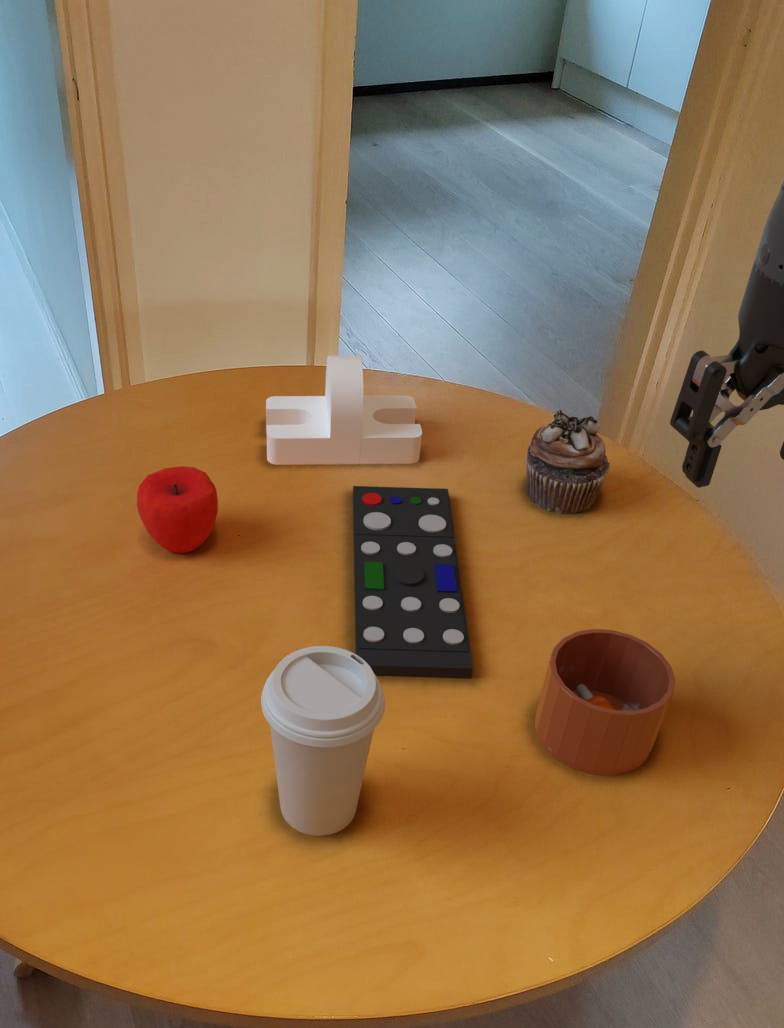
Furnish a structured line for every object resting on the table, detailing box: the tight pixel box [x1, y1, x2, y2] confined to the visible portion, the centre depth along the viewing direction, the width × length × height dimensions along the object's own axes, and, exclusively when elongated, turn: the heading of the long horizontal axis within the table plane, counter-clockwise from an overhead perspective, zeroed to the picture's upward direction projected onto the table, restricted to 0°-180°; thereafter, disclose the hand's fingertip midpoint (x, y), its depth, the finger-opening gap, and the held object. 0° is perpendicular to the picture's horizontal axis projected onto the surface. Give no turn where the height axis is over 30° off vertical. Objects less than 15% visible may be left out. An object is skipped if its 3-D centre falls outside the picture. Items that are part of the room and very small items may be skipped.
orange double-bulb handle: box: [577, 684, 616, 710], centre depth 93 cm, size 8×3×3 cm
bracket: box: [265, 354, 423, 466], centre depth 126 cm, size 19×10×11 cm, turn 92°
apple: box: [136, 465, 219, 554], centre depth 111 cm, size 9×9×8 cm
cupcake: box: [525, 409, 611, 515], centre depth 119 cm, size 10×10×10 cm
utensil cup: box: [534, 628, 676, 777], centre depth 91 cm, size 11×11×8 cm
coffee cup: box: [260, 645, 386, 837], centre depth 82 cm, size 10×10×15 cm
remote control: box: [352, 485, 474, 680], centre depth 109 cm, size 11×30×2 cm, turn 179°
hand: (744, 471), depth 78 cm, fingers open, 8 cm apart
